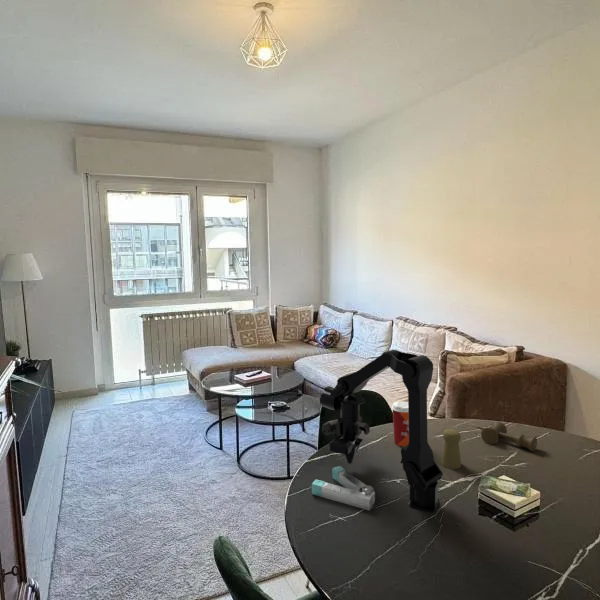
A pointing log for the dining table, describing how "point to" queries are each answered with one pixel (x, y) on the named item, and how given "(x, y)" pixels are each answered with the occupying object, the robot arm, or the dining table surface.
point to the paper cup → (401, 423)
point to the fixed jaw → (345, 494)
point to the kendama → (506, 436)
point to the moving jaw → (346, 479)
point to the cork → (451, 449)
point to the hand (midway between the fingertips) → (350, 463)
